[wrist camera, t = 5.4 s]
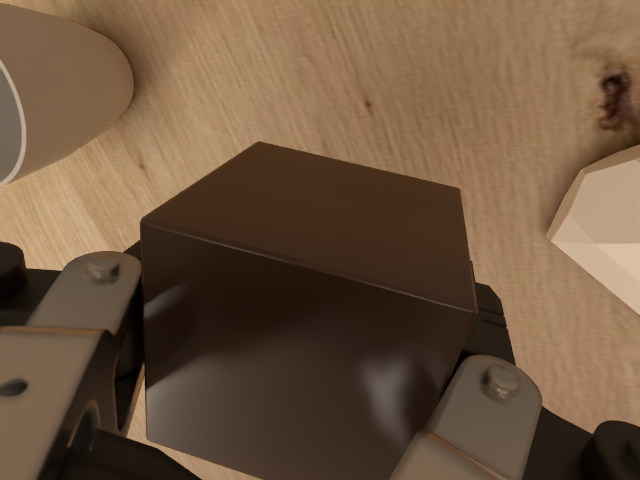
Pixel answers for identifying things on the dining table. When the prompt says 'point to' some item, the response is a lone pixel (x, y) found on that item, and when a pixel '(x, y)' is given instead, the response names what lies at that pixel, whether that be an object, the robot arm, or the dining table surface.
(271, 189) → the walnut block
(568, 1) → the dining table surface
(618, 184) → the crystal
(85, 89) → the cup
